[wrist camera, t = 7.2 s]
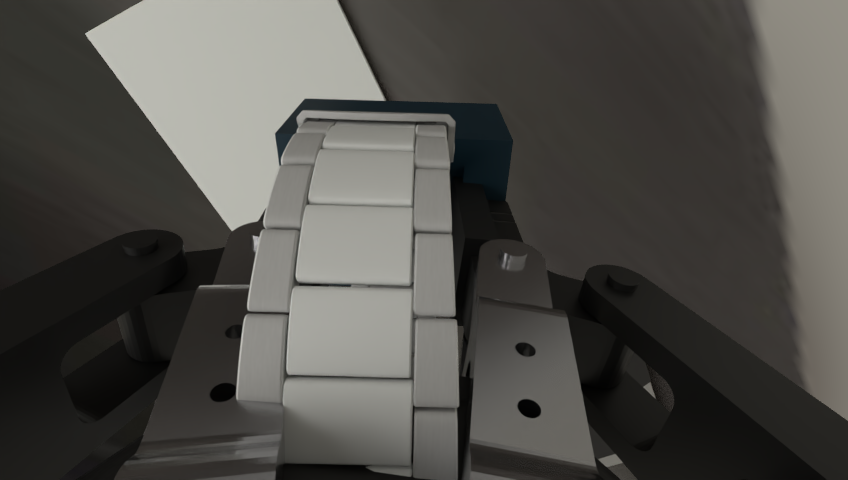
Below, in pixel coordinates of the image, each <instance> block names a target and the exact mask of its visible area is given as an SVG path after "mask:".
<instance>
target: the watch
mask: <svg viewBox="0 0 848 480" xmlns="http://www.w3.org/2000/svg"><path fill="white" fill-rule="evenodd" d="M275 138H276V145H277V152H278V160H279V168H278V170H277V173H276V176H275V179H274V182H273V185H272V189H271V192H270V195H269V199H268V203H267V207H266V210H265V214H264V219H263V224H264V227H265V229H263V230H262V231H261V233H260V237H259V241H258V246H257V250H256V255H255V260H254V266H253V271H252V276H251V282H250V288H249V295H248V302H247V309H248V310H249V311H253V312H290V314H289V315H283V314H247V315H246V316H245V318H244V322H243V328H242V336H241V345H240V354H239V364H238V376H237V389H236V399H238V400H248V401H262V402H276V403H281V402H283V405H284V437H285V463H293V464H334V465H372V466H368V467H366V468H368V469H370V470H372V471H374V472H380V473H387V474H394V475H401V476H408V477H411V475H412V468H413V477H414V478H420V479H432V480H458V423H457V407H459V371H458V334H457V320H455V319H436V318H435V316H444V317H454V316H455V314H456V309H455V282H454V259H453V240H452V235H451V234H452V212H451V185H452V181H453V177H463V182H466V183H476V184H482V186H483V189H484V192H485V195H486V199H487V200H497V201H505V199H506V191H507V183H508V176H509V168H510V160H511V152H512V145H513V139H512V137H511V135H510V133H509V130H508V128H507V126H506V124H505V122H504V119H503V117H502V115H501V113H500V111H499V108H498V106H497V104H477V103H443V102H408V101H374V100H340V99H306V98H305V99H304V100H303V101H302V103H301V104H300V105H299V106H298V107H297V108H296V110H295V111H294V112H293V113H292V114H291V115H290V117H289V118H288V119H287V120H286V121H285V122H284V123H283V125H282V126H281V127H280V128H279V129H278V130H277V132H276V133H275ZM299 283H301V284H329V285H340V286H351V287H322V286H299ZM417 316H418V318H417ZM413 318H417V319H413ZM412 354H415V355H412ZM294 375H312V376H294ZM334 376H351V377H334ZM413 379H414V393H413ZM413 406H415V413H414V450H413V464H412V462H411V454H412V418H413Z"/></svg>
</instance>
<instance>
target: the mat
mask: <svg viewBox="0 0 848 480" xmlns="http://www.w3.org/2000/svg"><path fill="white" fill-rule="evenodd" d="M85 34H86V36H87V37H88V39H89V40H90V41H91V43H92V44H93V45H94V47H95V48H96V49H97V51H98V52H99V53H100V55H101V56H102V57H103V59H104V60H105V61H106V63H107V64H108V65H109V67H110V68H111V69H112V71H113V72H114V73H115V75H116V76H117V77H118V79H119V80H120V81H121V83H122V84H123V86H124V87H125V88H126V90H127V91H128V92H129V94H130V95H131V96H132V98H133V99H134V100H135V102H136V103H137V104H138V106H139V107H140V108H141V110H142V111H143V112H144V114H145V115H146V116H147V118H148V119H149V120H150V122H151V123H152V124H153V126H154V127H155V128H156V130H157V131H158V132H159V134H160V135H161V137H162V138H163V139H164V141H165V142H166V143H167V145H168V146H169V147H170V149H171V150H172V151H173V153H174V154H175V155H176V157H177V158H178V159H179V161H180V162H181V163H182V165H183V166H184V167H185V169H186V170H187V171H188V173H189V174H190V175H191V177H192V178H193V179H194V181H195V182H196V183H197V185H198V186H199V188H200V189H201V190H202V192H203V193H204V194H205V196H206V197H207V198H208V200H209V201H210V202H211V204H212V205H213V206H214V208H215V209H216V210H217V212H218V213H219V214H220V216H221V217H222V218H223V220H224V221H225V222H226V224H227V225H228V226H229V228H230V229H231V230H232V231H233V230H235V229H236V228H238V227H240V226H242V225H245V224H248V223H252V222H257V221H258V220H259V219H260V217H261V215H262V214H263V212H264V210H265V209H266V207H267V203H268V199H269V195H270V192H271V189H272V185H273V182H274V179H275V176H276V173H277V170H278V168H279V160H278V152H277V145H276V138H275V133H276V132H277V130H278V129H279V128H280V127H281V126H282V125H283V123H284V122H285V121H286V120H287V119H288V118H289V117H290V115H291V114H292V113H293V112H294V111H295V110H296V108H297V107H298V106H299V105H300V104H301V103H302V101H303V100H304V99H305V98H306V99H340V100H374V101H386V99H385V97H384V95H383V92H382V90H381V88H380V86H379V84H378V82H377V80H376V78H375V76H374V74H373V72H372V70H371V67H370V65H369V63H368V61H367V59H366V57H365V55H364V53H363V51H362V49H361V47H360V45H359V42H358V40H357V38H356V36H355V34H354V32H353V30H352V28H351V26H350V24H349V22H348V19H347V17H346V15H345V13H344V11H343V9H342V7H341V5H340V3H339V1H338V0H143V1H141V2H140V3H138V4H136V5H134V6H133V7H131V8H129V9H127V10H126V11H124V12H122V13H120V14H118V15H117V16H115V17H113V18H111V19H110V20H108V21H106V22H104V23H103V24H101V25H99V26H97V27H96V28H94V29H92V30H90V31H89V32H87V33H85Z"/></svg>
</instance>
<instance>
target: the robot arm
mask: <svg viewBox="0 0 848 480" xmlns="http://www.w3.org/2000/svg"><path fill="white" fill-rule="evenodd" d="M265 210H266V209H265ZM265 210H264V212H263V214H262V215H261V217H260V219H259V220H258V221H257V222H252V223H248V224H245V225H242V226H240V227H238V228H236V229H235V230H233V231H232V232H231V233H230V235H229V237H228V239H227V242H226V245H225V247H223V248H219V249H212V250H202V251H192V252H185V250H184V244H183V240H182V239H181V237H180V236H178V235H177V234H175V233H173V232H169V231H164V230H140V231H134V232H130V233H126V234H123V235H120V236H118V237H115V238H113V239H111V240H109V241H106V242H104V243H102V244H100V245H98V246H96V247H93V248H91V249H89V250H87V251H85V252H83V253H81V254H78V255H76V256H74V257H72V258H70V259H68V260H65V261H63V262H61V263H59V264H57V265H55V266H52V267H50V268H48V269H46V270H44V271H42V272H39V273H37V274H35V275H33V276H31V277H29V278H27V279H24V280H22V281H20V282H18V283H16V284H14V285H11V286H9V287H7V288H5V289H3V290H1V291H0V480H59V479H60V478H61V477H63V476H64V475H65V474H66V473H67V472H69V471H70V470H71V469H72V468H73V467H75V466H76V465H77V464H78V463H79V462H81V461H82V460H83V459H84V458H86V457H87V456H88V455H89V454H90V453H92V452H93V451H94V450H95V449H96V448H98V447H99V446H100V445H101V444H102V443H104V442H105V441H106V440H107V439H108V438H110V437H111V436H112V435H113V434H115V433H116V432H117V431H118V430H119V429H121V428H122V427H123V426H124V425H125V424H127V423H128V422H129V421H130V420H131V419H133V418H134V417H135V416H136V415H137V414H139V413H140V412H141V411H142V410H144V409H145V408H146V407H147V406H148V405H150V404H151V403H152V402H153V401H154V400H156V399H157V400H156V402H155V405H154V408H153V411H152V413H151V416H150V419H149V422H148V424H147V427H146V430H145V433H144V435H142V436H141V437H139V438H138V439H136V440H135V441H133V442H132V443H130V444H129V445H127V446H126V447H124V448H123V449H121V450H120V451H118V452H117V453H115V454H114V455H112V456H111V457H109V458H108V459H106V460H105V461H103V462H102V463H100V464H99V465H97V466H96V467H94V468H93V469H91V470H90V471H88V472H87V473H85V474H84V475H82V476H81V477H79V478H78V479H76V480H432V479H420V478H414V477H413V468H412V475H411V477H408V476H401V475H394V474H387V473H380V472H374V471H372V470H370V469H368V468H366V467H368V466H372V465H334V464H293V463H285V437H284V405H283V402H281V403H276V402H262V401H248V400H238V399H236V389H237V376H238V364H239V354H240V345H241V336H242V328H243V322H244V318H245V316H246V315H247V314H283V315H289V314H290V312H253V311H249V310H248V309H247V302H248V295H249V288H250V282H251V276H252V271H253V266H254V260H255V255H256V250H257V246H258V241H259V237H260V233H261V231H262V230H263V229H265V227H264V224H263V219H264V214H265ZM451 212H452V234H451V235H452V240H453V259H454V282H455V309H456V314H455V316H454V317H450V319H455V320H457V326H463V327H464V334H463V340H462V345H461V351H460V361H459V370H458V371H459V407H457V423H458V480H620V479H619V478H618V477H617V476H616V475H615V474H614V473H613V472H611V471H610V470H609V469H608V468H607V467H606V466H605V465H604V464H603V463H601V462H600V461H599V460H598V459H597V458H596V457H595V456H594V453H593V448H592V442H591V437H590V432H589V427H588V424H589V425H590V426H591V427H592V428H593V429H594V430H595V431H596V433H597V434H598V435H599V436H600V437H601V438H602V439H603V441H604V442H605V443H606V444H607V445H608V446H609V447H610V449H611V450H612V451H613V452H614V453H615V454H616V455H617V456H618V458H619V459H620V460H621V461H622V462H623V463H624V464H625V466H626V467H627V468H628V469H629V470H630V471H631V472H632V474H633V475H634V476H635V477H636V478H637V479H638V480H848V421H847V420H846V419H844V418H843V417H841V416H840V415H839V414H837V413H836V412H834V411H833V410H831V409H830V408H829V407H827V406H826V405H824V404H823V403H821V402H820V401H819V400H817V399H816V398H815V397H813V396H812V395H810V394H809V393H808V392H806V391H805V390H803V389H802V388H800V387H799V386H798V385H796V384H795V383H793V382H792V381H791V380H789V379H788V378H786V377H785V376H783V375H782V374H781V373H779V372H778V371H776V370H775V369H774V368H772V367H771V366H769V365H768V364H767V363H765V362H764V361H762V360H761V359H759V358H758V357H757V356H755V355H754V354H752V353H751V352H750V351H748V350H747V349H745V348H744V347H743V346H741V345H740V344H738V343H737V342H735V341H734V340H733V339H731V338H730V337H728V336H727V335H726V334H724V333H723V332H721V331H720V330H718V329H717V328H716V327H714V326H713V325H711V324H710V323H709V322H707V321H706V320H704V319H703V318H702V317H700V316H699V315H697V314H696V313H694V312H693V311H692V310H690V309H689V308H687V307H686V306H685V305H683V304H682V303H680V302H679V301H677V300H676V299H675V298H673V297H672V296H670V295H669V294H668V293H666V292H665V291H663V290H662V289H661V288H659V287H658V286H656V285H655V284H653V283H652V282H651V281H649V280H648V279H646V278H645V277H643V276H642V275H640V274H638V273H636V272H634V271H632V270H629V269H626V268H623V267H619V266H614V265H596V266H593V267H591V268H589V269H588V270H587V272H586V275H585V278H584V281H580V280H577V279H573V278H569V277H565V276H561V275H558V274H555V273H552V272H550V271H548V270H547V267H546V261H545V258H544V256H543V255H542V254H541V253H540V252H539V251H538V250H537V249H535V248H534V247H532V246H530V245H528V244H525V243H523V240H522V238H521V235H520V233H519V230H518V228H517V225H516V223H515V220H514V218H513V215H512V213H511V210H510V208H509V205H508V203H507V202H506V201H497V200H487V199H486V195H485V192H484V189H483V186H482V184H476V183H466V182H463V177H453V181H452V185H451ZM299 286H322V287H329V284H301V283H299ZM116 318H117V319H118V323H119V326H120V329H121V333H122V336H123V339H122V340H120V341H119V342H117V343H116V344H114V345H113V346H111V347H110V348H108V349H107V350H105V351H104V352H102V353H101V354H99V355H98V356H96V357H95V358H93V359H92V360H90V361H89V362H87V363H85V364H84V365H82V366H81V367H79V368H78V369H76V370H75V371H73V372H72V373H70V374H69V375H67V376H66V377H64V378H63V377H62V375H61V371H60V366H61V362H62V359H63V357H64V356H65V354H66V353H67V351H68V350H69V349H70V348H71V347H72V346H73V345H74V344H76V343H77V342H79V341H80V340H82V339H83V338H85V337H87V336H88V335H90V334H92V333H93V332H95V331H96V330H98V329H100V328H101V327H103V326H105V325H106V324H108V323H109V322H111V321H113V320H114V319H116ZM633 353H636V354H637V355H638V356H639V357H640V358H641V359H642V360H643V361H645V362H646V363H647V364H648V365H649V366H650V367H651V368H653V369H654V370H655V371H656V372H657V373H658V374H659V375H661V376H662V377H663V378H664V379H665V380H666V381H667V383H668V384H669V386H670V387H671V389H672V391H673V394H674V407H673V409H672V411H671V413H670V412H669V411H668V410H667V409H666V408H665V407H664V406H663V405H662V404H661V403H659V402H658V401H657V400H656V399H655V398H654V397H653V396H652V395H651V394H650V393H649V392H648V391H647V390H646V389H645V388H643V387H642V386H641V385H640V384H639V383H638V382H637V381H636V380H635V379H634V378H633V377H632V376H631V375H630V374H628V373H627V372H626V369H627V367H628V365H629V362H630V360H631V358H632V355H633ZM294 376H312V375H294ZM334 377H351V376H334ZM413 393H414V379H413ZM414 413H415V406H413V418H412V454H411V462H412V464H413V450H414Z"/></svg>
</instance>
